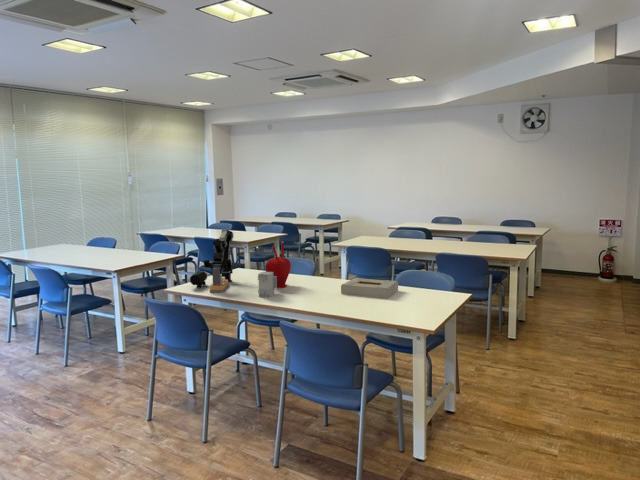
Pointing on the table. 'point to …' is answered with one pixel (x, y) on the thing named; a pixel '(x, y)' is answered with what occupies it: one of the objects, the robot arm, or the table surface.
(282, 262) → the red antenna pod
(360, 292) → the box
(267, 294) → the circuit breaker
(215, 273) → the dark grey block
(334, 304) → the table surface
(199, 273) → the security camera
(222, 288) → the orange and grey housing
